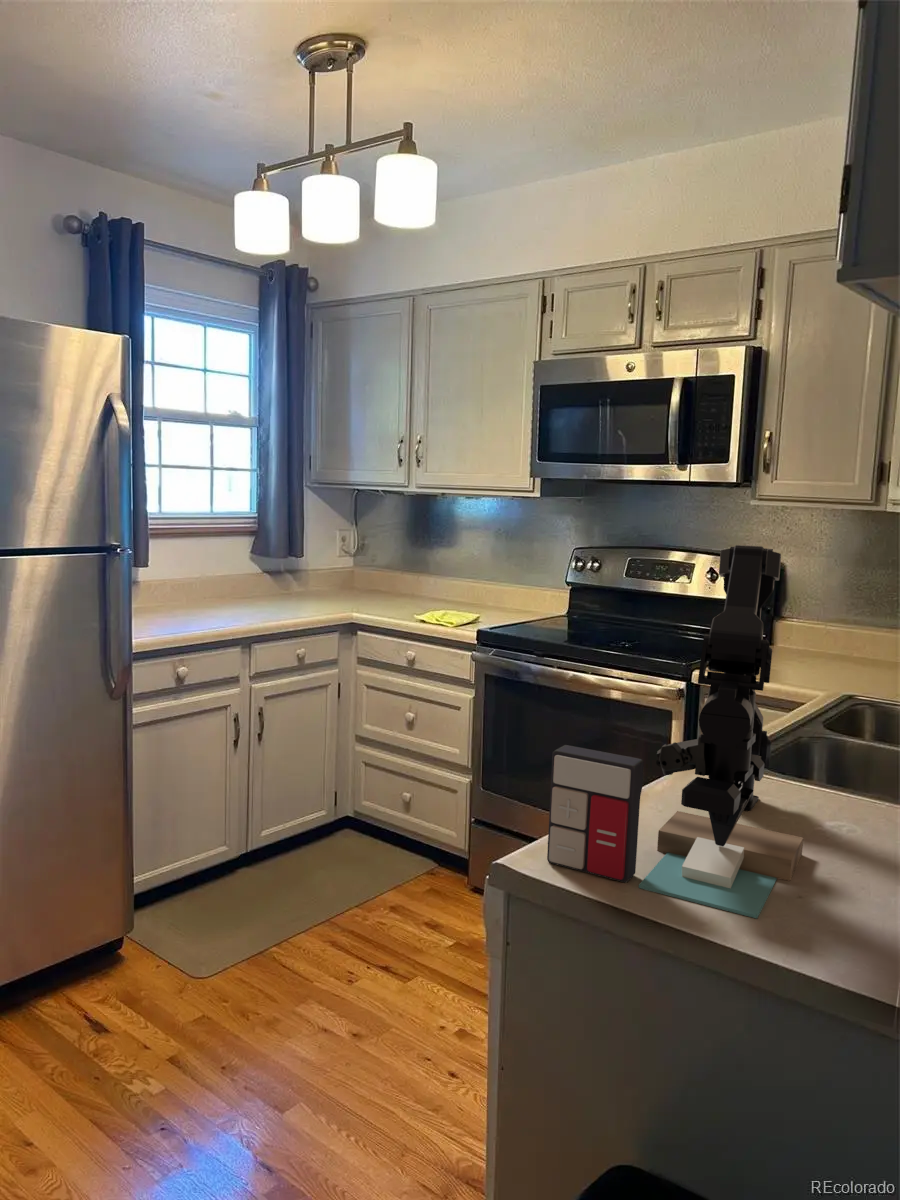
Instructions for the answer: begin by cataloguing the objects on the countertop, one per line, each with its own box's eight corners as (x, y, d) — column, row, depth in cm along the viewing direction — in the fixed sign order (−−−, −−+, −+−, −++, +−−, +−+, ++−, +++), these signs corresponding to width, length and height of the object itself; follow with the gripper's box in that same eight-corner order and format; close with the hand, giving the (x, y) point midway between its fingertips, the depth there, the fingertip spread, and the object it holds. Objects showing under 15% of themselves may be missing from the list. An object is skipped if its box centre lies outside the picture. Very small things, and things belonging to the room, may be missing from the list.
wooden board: (676, 831, 128) (677, 810, 128) (801, 858, 119) (803, 837, 119) (657, 851, 120) (658, 830, 120) (789, 883, 112) (791, 860, 111)
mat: (667, 855, 119) (667, 852, 119) (776, 881, 112) (776, 878, 112) (638, 887, 109) (638, 884, 109) (757, 918, 102) (757, 915, 102)
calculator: (544, 864, 115) (549, 751, 113) (557, 853, 118) (563, 743, 117) (625, 886, 109) (633, 767, 107) (637, 873, 113) (644, 759, 111)
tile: (697, 846, 117) (697, 836, 117) (743, 857, 114) (744, 847, 114) (681, 876, 112) (681, 866, 111) (730, 888, 109) (730, 878, 108)
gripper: (686, 703, 124) (678, 810, 126) (643, 731, 108) (636, 854, 110) (769, 715, 119) (760, 827, 121) (737, 747, 103) (727, 876, 105)
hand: (720, 844), depth 114 cm, fingers closed
